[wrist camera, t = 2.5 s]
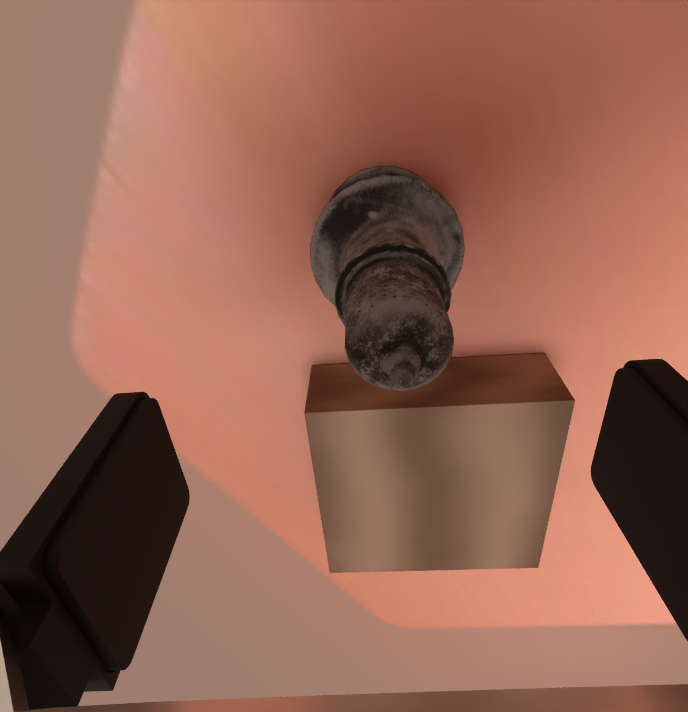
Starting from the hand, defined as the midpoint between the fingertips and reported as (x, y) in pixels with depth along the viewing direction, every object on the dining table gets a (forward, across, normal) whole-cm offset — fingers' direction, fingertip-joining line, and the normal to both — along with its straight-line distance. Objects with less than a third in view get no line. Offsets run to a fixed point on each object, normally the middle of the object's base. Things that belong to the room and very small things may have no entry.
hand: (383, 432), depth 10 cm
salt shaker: (+14, -1, 0) cm, 14 cm away
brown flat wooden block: (+13, -3, +13) cm, 19 cm away
